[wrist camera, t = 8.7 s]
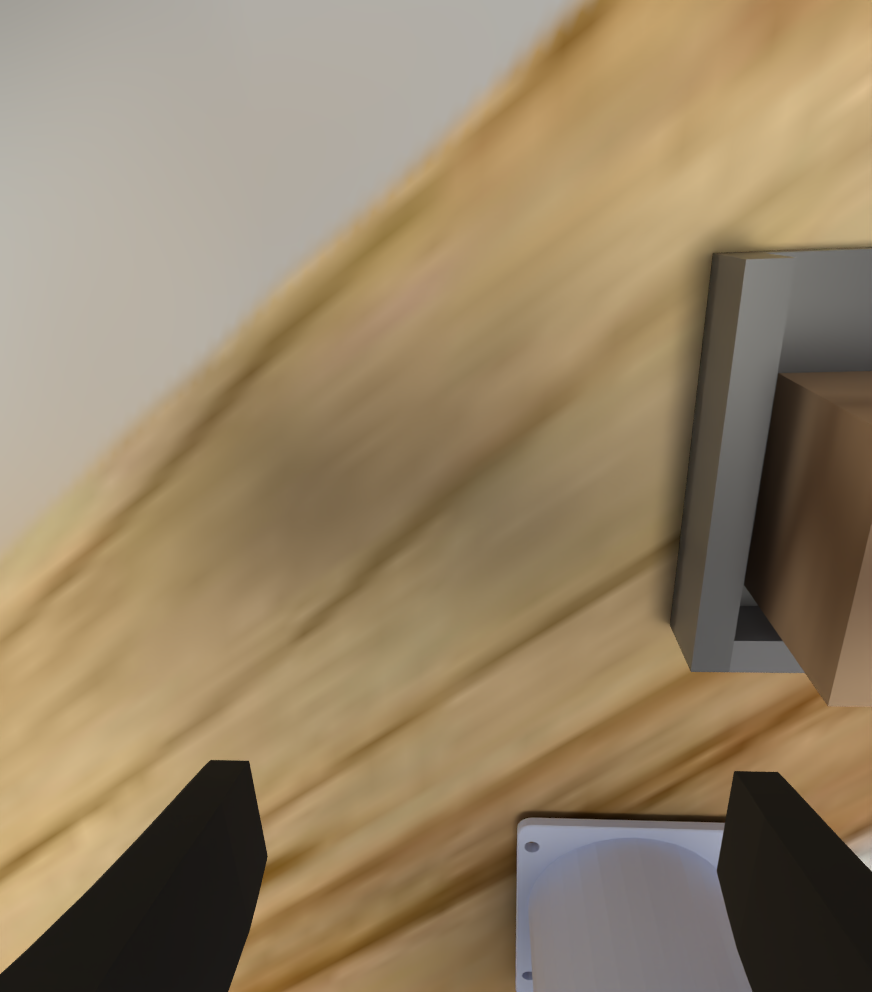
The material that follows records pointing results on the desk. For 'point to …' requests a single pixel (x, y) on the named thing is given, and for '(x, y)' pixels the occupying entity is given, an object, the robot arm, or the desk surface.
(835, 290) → the gray u-shaped channel bracket
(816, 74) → the desk surface
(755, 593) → the walnut block
